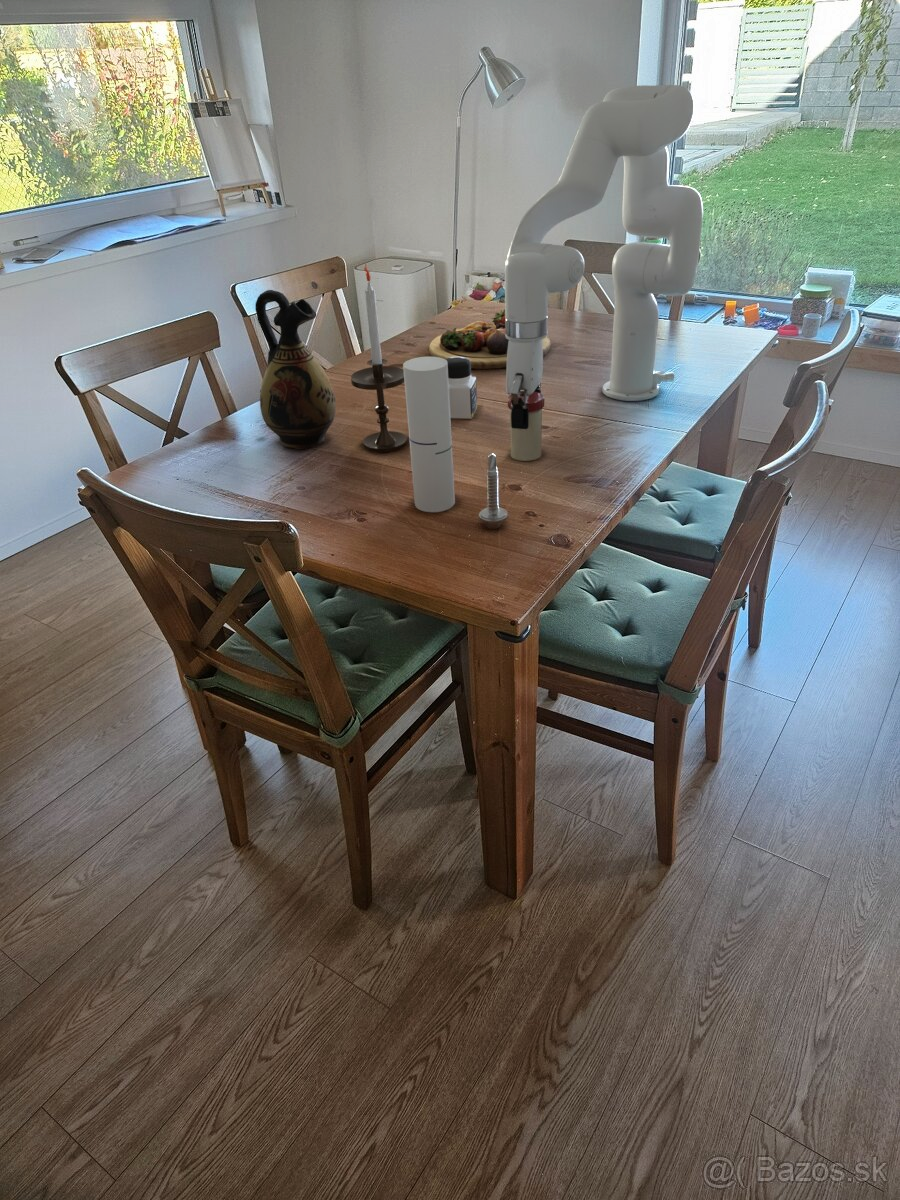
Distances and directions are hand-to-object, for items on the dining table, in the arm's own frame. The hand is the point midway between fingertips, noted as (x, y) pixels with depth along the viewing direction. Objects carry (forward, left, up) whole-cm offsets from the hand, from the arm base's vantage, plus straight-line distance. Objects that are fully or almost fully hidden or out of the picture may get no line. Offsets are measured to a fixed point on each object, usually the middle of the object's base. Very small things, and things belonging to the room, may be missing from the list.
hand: (526, 418), depth 156 cm
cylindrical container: (+21, +15, -8) cm, 27 cm away
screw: (+13, +26, -8) cm, 30 cm away
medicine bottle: (+8, -26, -8) cm, 28 cm away
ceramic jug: (+43, -22, -8) cm, 49 cm away
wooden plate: (-9, -67, -8) cm, 68 cm away
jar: (0, 0, -7) cm, 7 cm away
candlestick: (+26, -14, -8) cm, 31 cm away
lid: (0, 0, +4) cm, 4 cm away
